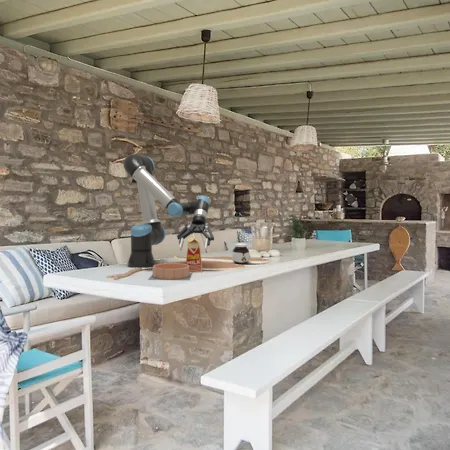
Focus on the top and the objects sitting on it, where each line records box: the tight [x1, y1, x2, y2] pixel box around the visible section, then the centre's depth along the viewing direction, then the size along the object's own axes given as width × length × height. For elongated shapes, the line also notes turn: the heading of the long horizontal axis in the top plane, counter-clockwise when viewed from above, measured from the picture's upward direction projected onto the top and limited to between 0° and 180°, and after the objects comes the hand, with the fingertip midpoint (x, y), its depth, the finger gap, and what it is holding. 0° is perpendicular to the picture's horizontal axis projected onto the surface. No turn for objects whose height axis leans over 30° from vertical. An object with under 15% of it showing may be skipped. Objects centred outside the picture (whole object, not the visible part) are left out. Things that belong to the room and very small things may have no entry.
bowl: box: [152, 262, 191, 281], centre depth 220 cm, size 18×18×5 cm
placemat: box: [147, 272, 193, 281], centre depth 220 cm, size 20×20×1 cm
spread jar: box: [232, 242, 251, 265], centre depth 268 cm, size 12×11×12 cm
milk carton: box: [185, 233, 203, 274], centre depth 234 cm, size 9×9×20 cm
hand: (192, 249), depth 232 cm, fingers open, 13 cm apart
